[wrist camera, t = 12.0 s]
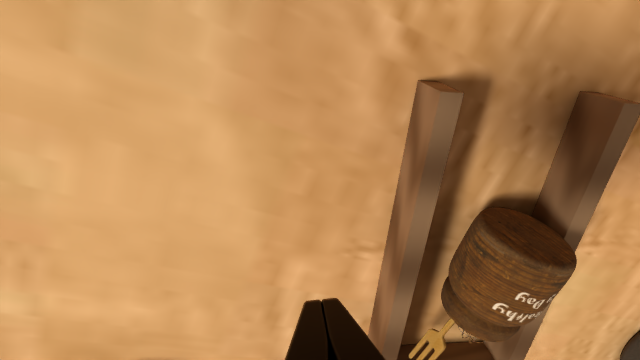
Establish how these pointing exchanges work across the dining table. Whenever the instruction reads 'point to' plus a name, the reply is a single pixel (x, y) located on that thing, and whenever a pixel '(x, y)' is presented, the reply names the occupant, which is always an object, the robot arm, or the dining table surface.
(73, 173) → the dining table surface
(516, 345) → the tray
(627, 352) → the smart speaker
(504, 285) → the utensil holder
